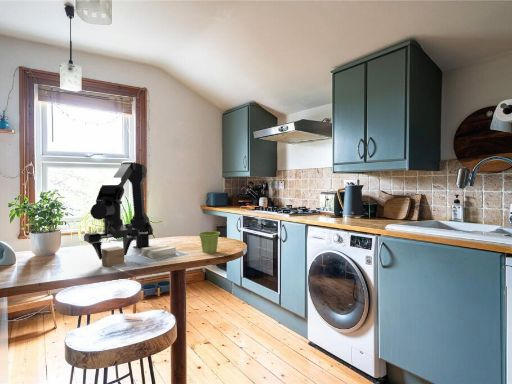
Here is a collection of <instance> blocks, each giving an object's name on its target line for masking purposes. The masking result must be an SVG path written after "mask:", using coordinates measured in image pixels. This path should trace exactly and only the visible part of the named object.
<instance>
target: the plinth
mask: <svg viewBox="0 0 512 384" xmlns="http://www.w3.org/2000/svg"><path fill="white" fill-rule="evenodd" d="M150 246H151V247H145V248H141V253H142V255H143V256H146V257H149V258H152V259H157V258H162V257H167V256H172V255H176V251H177V250H176V247H173V246H171V245H168V244H167V245H166V244H159V245H153V246H152V245H150Z"/></svg>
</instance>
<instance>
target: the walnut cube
mask: <svg viewBox="0 0 512 384" xmlns="http://www.w3.org/2000/svg"><path fill="white" fill-rule="evenodd" d="M101 252H102V260H101V264H102V265H103V266H105V267H106V268H107V267H108V268H110V267H114V265H118V264H121V263H122V264H123V263H125V259H124V256H125V255H124V248H123V247H120V246H112V247H104V248H101Z"/></svg>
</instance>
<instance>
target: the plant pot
mask: <svg viewBox="0 0 512 384" xmlns="http://www.w3.org/2000/svg"><path fill="white" fill-rule="evenodd" d="M220 234H221V232H220V231H211V230H210V231H201V232H198V236H199V239H200V242H201V243H200V244H201V250H202V253H204V254H205V253H207V254H208V253H209V254H210V253H217V252H216V251H217V250H218V243H219V237H220Z"/></svg>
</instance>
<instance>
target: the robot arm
mask: <svg viewBox="0 0 512 384" xmlns="http://www.w3.org/2000/svg"><path fill="white" fill-rule="evenodd" d="M147 170H148V168H147V166H145V165H144V164H143V163H137V162H135V161H133V160H132V161H131V160H130V161H129V160H127V161H125V160H123V161H122V162H121V163H120V167H118V169H117V171H116V172H115V174H114V176H113V177H112V178H111V179H108V180H106V181H105V182H104V183H103V184H102V185H101V186H100V188H99V191H98V193H97V196H96V199H95V203H94V205H92V207H91V208H90V211H89V212H90V215H91V217H92V218H93V219H95V220H97V221H98V220H102V222H103V224H104V228H103V230H102V233H100V232H86V233H84V235H83V241H84V242H86V243H89V244H91V245H92V247H93V248H94V250H95V252H96V254H97V256H98V259H99V260H100V261H102V243H103V242H102V241H101V240H102V239H109V238H114V239H121V238H122V246H123V247H122V248H124V256H127V254H128V251H129V249H130V246H131V244H132V242H133V241H134V240H135V246H132V248H133V249H142V248H145V247H151V246H152V245H150V238H149V237H150V236H152V235H153V233H154V229H153V226H152V224H151V222H150V217H148V215H147V214H146V209H145V194H144V181H146V180H145V179H146V178H147V172H148V171H147ZM127 181H129V182H130V184H131V189H132V190H131V193H132V205H133V216H132V218H131V219H130V221H129V222H130V223H125V224H124V223H123V219H122V218H121V217H122V214H121V210H122V209H121V205H122V204H123V201H122V198H123V196H124V194H125V188H124V187H125V184H126V183H127Z"/></svg>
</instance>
